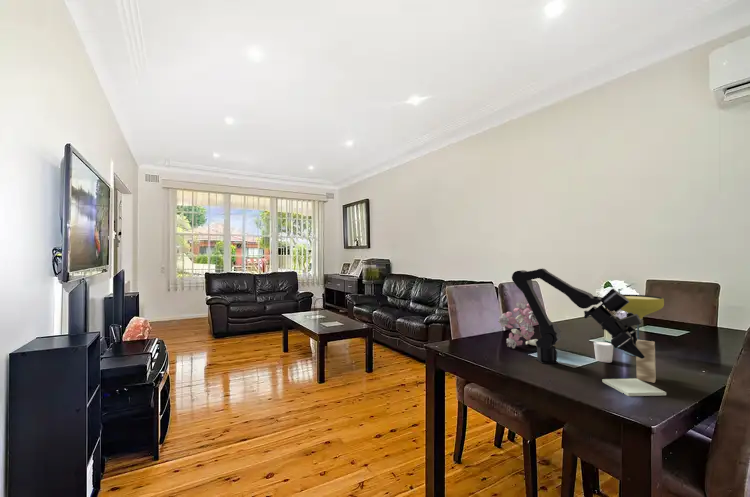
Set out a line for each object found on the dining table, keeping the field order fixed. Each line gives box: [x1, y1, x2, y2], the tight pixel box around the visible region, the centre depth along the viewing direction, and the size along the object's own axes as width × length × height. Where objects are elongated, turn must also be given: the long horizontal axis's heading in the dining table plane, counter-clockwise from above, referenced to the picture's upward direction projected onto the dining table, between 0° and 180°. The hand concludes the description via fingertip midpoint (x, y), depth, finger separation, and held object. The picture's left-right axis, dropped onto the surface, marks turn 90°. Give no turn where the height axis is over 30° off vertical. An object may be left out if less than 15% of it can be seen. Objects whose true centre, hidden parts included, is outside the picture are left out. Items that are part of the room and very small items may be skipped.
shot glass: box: [593, 341, 614, 363], centre depth 146 cm, size 7×7×7 cm
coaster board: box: [601, 378, 667, 397], centre depth 115 cm, size 12×12×1 cm
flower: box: [497, 296, 545, 349], centre depth 170 cm, size 20×22×25 cm
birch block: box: [635, 339, 657, 384], centre depth 124 cm, size 5×5×13 cm
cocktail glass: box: [620, 294, 665, 357], centre depth 154 cm, size 18×18×25 cm
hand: (644, 354), depth 124 cm, fingers open, 9 cm apart
